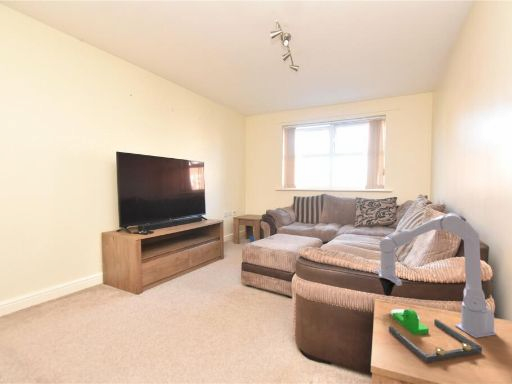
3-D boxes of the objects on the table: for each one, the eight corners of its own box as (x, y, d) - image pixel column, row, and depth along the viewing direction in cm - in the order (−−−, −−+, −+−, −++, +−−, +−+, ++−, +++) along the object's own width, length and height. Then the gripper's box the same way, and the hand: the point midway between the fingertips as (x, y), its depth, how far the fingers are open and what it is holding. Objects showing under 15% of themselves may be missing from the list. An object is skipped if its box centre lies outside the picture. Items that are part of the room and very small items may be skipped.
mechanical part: (428, 333, 95) (428, 312, 95) (413, 335, 95) (413, 314, 94) (405, 316, 107) (406, 297, 107) (392, 317, 106) (392, 299, 106)
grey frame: (436, 324, 101) (436, 316, 100) (484, 354, 83) (484, 345, 83) (388, 331, 97) (388, 323, 97) (428, 365, 80) (428, 355, 79)
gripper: (369, 260, 119) (369, 288, 120) (391, 271, 105) (391, 303, 106) (383, 259, 121) (383, 287, 122) (406, 270, 106) (406, 301, 107)
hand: (387, 294), depth 114 cm, fingers closed
